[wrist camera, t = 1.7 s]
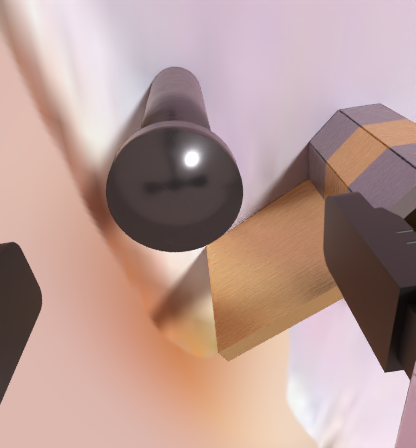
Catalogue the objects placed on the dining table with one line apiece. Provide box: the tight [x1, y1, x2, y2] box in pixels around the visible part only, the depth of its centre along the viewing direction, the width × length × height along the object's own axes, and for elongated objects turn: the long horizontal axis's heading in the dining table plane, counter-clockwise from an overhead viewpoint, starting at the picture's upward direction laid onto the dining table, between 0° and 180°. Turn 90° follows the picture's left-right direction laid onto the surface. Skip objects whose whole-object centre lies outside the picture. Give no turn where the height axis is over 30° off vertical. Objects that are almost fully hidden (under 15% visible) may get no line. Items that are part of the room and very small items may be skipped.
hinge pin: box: [106, 67, 243, 252], centre depth 18 cm, size 4×4×14 cm
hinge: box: [206, 104, 416, 361], centre depth 24 cm, size 10×23×10 cm, turn 98°
